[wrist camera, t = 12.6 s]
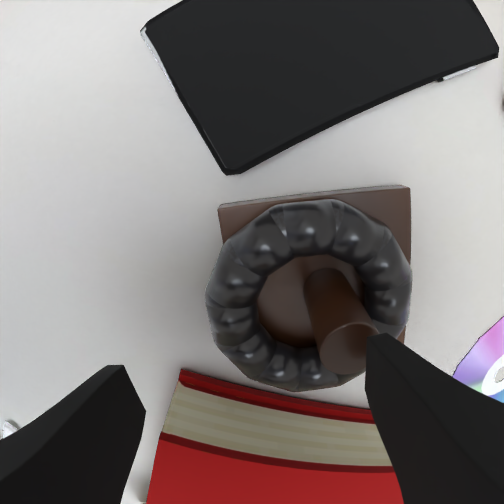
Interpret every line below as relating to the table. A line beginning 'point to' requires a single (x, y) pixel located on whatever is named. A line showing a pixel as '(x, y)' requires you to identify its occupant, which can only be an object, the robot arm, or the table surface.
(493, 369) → the cd
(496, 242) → the table surface
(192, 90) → the smartphone
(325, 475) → the book
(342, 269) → the brown peg stand
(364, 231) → the ring
